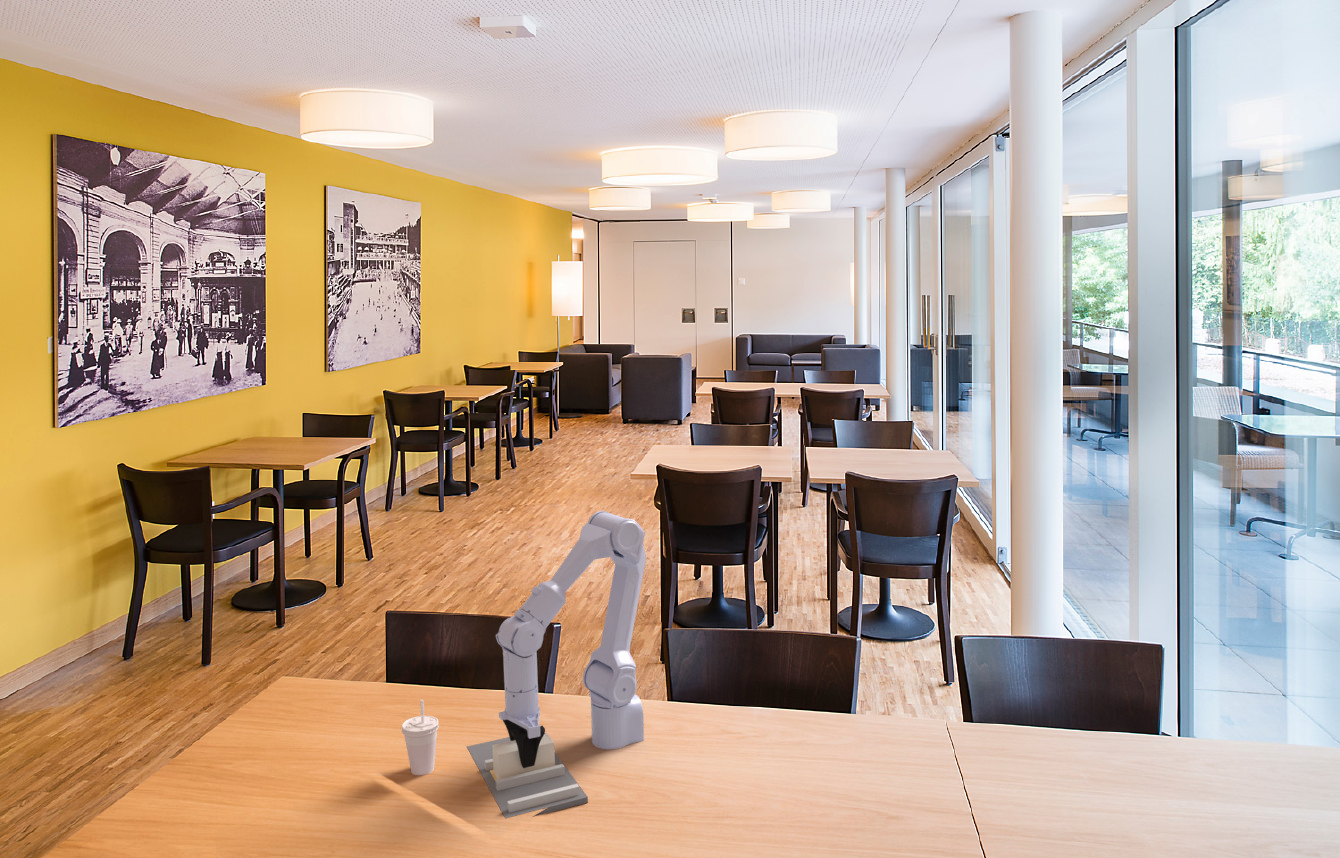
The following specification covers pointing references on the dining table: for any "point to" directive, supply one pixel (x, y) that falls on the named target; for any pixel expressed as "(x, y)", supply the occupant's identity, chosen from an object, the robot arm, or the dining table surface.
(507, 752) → the frame block
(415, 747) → the smoothie
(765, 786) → the dining table surface
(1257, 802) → the dining table surface
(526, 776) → the grey ridged board
